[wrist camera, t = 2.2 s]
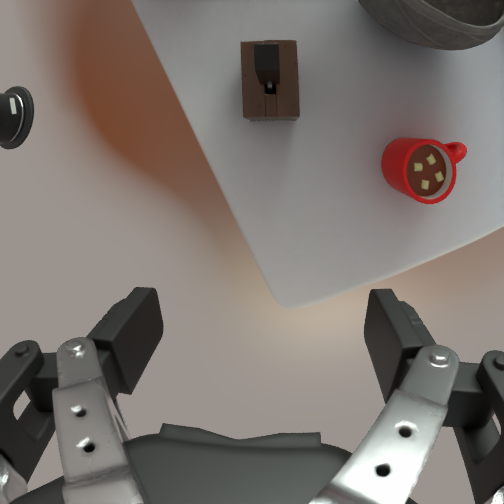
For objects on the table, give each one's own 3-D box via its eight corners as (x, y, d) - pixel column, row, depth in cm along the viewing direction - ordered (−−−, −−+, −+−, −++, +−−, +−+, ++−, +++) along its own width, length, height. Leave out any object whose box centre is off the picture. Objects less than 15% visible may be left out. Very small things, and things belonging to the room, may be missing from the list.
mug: (457, 165, 37) (486, 173, 30) (396, 201, 41) (418, 216, 33) (436, 117, 35) (464, 116, 28) (371, 152, 38) (391, 157, 31)
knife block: (249, 121, 39) (243, 117, 31) (247, 58, 35) (240, 41, 28) (295, 120, 38) (299, 116, 31) (293, 57, 35) (296, 39, 27)
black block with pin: (264, 99, 37) (254, 74, 21) (263, 78, 36) (253, 40, 20) (279, 98, 37) (280, 73, 21) (278, 77, 36) (278, 39, 20)
